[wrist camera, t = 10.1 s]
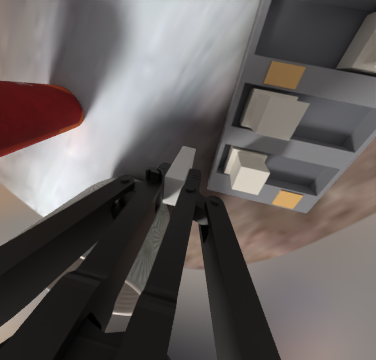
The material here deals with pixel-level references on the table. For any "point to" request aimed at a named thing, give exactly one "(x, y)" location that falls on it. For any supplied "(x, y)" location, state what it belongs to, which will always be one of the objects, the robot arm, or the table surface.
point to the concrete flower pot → (142, 262)
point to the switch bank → (302, 99)
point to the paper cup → (34, 114)
